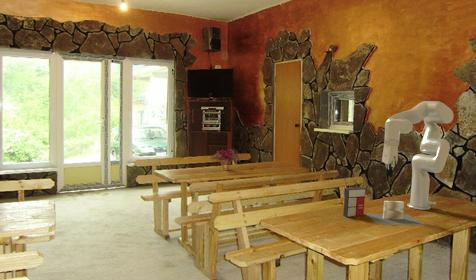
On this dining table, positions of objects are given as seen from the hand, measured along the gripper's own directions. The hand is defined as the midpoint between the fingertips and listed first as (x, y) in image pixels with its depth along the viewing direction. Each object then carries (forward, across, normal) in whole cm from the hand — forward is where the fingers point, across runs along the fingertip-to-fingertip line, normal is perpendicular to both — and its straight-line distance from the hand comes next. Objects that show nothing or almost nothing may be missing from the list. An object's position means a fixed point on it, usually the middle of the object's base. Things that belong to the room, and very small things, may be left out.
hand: (388, 176), depth 224 cm
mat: (+21, +10, 0) cm, 24 cm away
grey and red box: (+22, +4, -19) cm, 29 cm away
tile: (+20, +9, 0) cm, 22 cm away
